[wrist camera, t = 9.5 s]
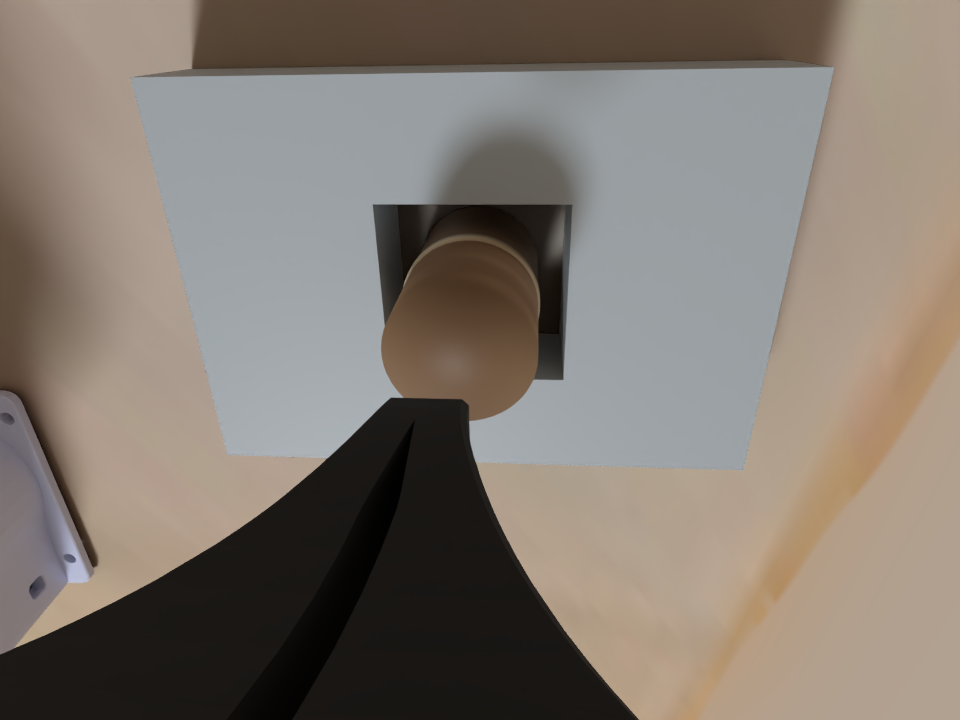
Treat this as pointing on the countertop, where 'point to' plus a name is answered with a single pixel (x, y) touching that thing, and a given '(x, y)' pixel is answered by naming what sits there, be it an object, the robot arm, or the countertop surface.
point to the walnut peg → (468, 314)
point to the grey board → (491, 181)
